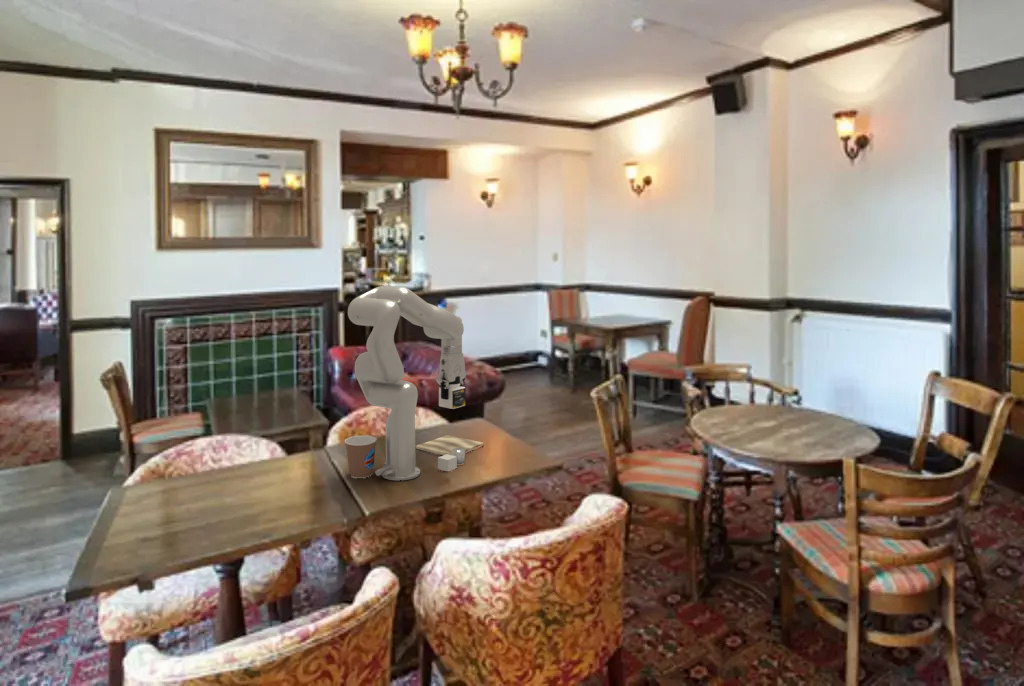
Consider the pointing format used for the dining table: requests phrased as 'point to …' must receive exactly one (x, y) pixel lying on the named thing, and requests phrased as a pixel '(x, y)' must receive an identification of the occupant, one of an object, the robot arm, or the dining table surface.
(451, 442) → the birch board
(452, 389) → the medicine bottle
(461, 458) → the metal canister
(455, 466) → the white cube
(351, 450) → the coffee cup
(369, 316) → the robot arm
